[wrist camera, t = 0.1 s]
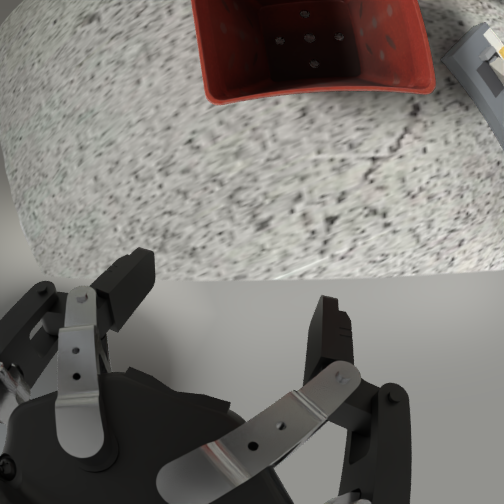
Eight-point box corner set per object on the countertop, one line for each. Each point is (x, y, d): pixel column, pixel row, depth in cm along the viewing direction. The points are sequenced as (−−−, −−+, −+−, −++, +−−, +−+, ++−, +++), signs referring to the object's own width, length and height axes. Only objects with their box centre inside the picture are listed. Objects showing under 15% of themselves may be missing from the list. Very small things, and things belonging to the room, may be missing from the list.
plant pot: (230, -6, 26) (181, -57, 12) (363, -17, 21) (386, -76, 7) (249, 108, 35) (206, 107, 20) (387, 100, 30) (438, 96, 16)
